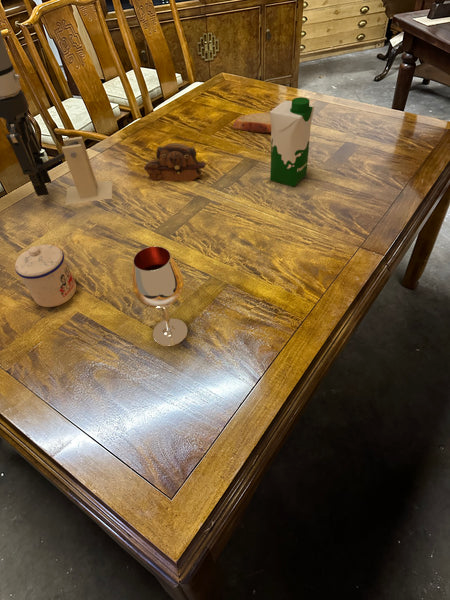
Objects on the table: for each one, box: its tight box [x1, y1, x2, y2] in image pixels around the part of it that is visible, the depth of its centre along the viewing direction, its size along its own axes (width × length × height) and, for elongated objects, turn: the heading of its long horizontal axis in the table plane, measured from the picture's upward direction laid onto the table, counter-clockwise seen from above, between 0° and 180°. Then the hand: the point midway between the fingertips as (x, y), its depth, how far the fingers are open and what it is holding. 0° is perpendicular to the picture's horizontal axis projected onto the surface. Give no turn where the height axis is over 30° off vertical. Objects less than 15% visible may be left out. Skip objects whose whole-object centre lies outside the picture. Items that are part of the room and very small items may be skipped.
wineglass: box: [131, 245, 188, 347], centre depth 70 cm, size 8×8×18 cm
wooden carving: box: [143, 142, 207, 182], centre depth 109 cm, size 16×5×10 cm, turn 88°
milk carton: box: [269, 96, 315, 188], centre depth 103 cm, size 9×9×20 cm
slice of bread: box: [232, 111, 271, 134], centre depth 129 cm, size 18×18×4 cm
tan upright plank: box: [61, 136, 113, 206], centre depth 105 cm, size 12×9×15 cm
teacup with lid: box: [14, 244, 77, 308], centre depth 82 cm, size 12×9×12 cm
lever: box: [35, 141, 79, 171], centre depth 102 cm, size 13×5×2 cm, turn 100°
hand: (44, 188), depth 106 cm, fingers closed on lever, 5 cm apart
